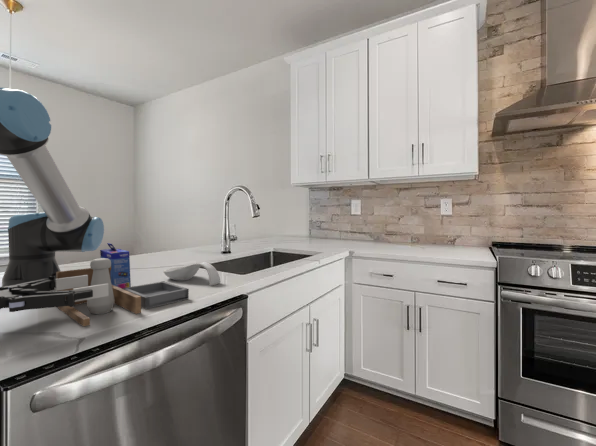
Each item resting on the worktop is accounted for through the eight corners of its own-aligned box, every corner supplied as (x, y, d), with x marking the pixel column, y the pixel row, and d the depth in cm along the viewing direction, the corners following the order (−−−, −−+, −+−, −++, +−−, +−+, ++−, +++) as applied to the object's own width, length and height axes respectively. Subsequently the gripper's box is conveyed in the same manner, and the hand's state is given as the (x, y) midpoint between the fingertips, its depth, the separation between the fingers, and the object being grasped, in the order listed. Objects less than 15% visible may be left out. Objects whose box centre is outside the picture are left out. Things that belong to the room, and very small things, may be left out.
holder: (56, 307, 79) (56, 271, 78) (108, 297, 88) (108, 265, 88) (83, 326, 66) (82, 284, 66) (140, 312, 75) (140, 276, 75)
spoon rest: (156, 279, 112) (156, 260, 111) (183, 274, 122) (183, 256, 122) (203, 289, 100) (203, 267, 100) (228, 282, 110) (228, 262, 110)
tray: (122, 298, 87) (122, 288, 87) (163, 290, 96) (163, 281, 96) (145, 309, 78) (145, 297, 78) (188, 299, 88) (188, 288, 87)
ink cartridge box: (99, 287, 99) (99, 242, 98) (118, 284, 103) (118, 241, 102) (111, 293, 92) (111, 244, 92) (131, 289, 97) (131, 243, 96)
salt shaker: (83, 316, 72) (83, 261, 72) (89, 309, 77) (88, 257, 77) (113, 313, 74) (112, 259, 74) (116, 306, 80) (115, 256, 79)
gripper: (-37, 309, 66) (80, 291, 83) (-24, 342, 50) (118, 311, 67) (-38, 274, 66) (80, 263, 82) (-25, 297, 50) (117, 276, 66)
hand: (97, 284), depth 75 cm, fingers open, 13 cm apart
